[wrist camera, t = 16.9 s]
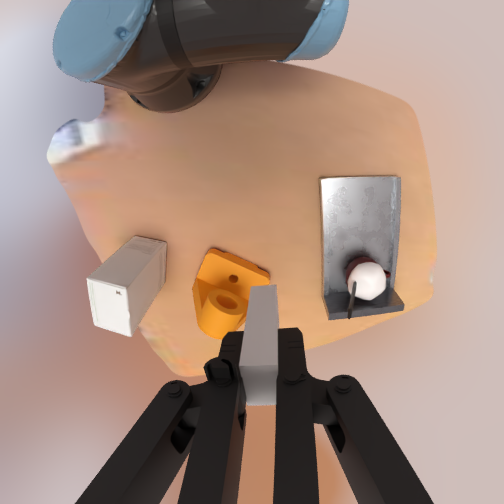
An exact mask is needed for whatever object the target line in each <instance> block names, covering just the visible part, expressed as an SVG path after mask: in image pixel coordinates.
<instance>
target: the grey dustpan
mask: <svg viewBox="0 0 504 504" xmlns="http://www.w3.org/2000/svg"><path fill="white" fill-rule="evenodd" d="M319 188H320V207H321V235H322V299H323V302H324V306H325V309H326V313H327V316H328V320H336V319H345V318H347V316H348V308H349V303H350V298H351V294H350V292H349V290H348V287H347V284H346V270H347V268H348V266H349V264H350V263H351V262H352V261H353V260H354V259H357V258H360V257H368V258H371V259H373V260H374V261H376V262H377V263H378V264H380V265H381V267H382V269H383V270H387V271H389V272H390V273H391V276H390V277H389V278H386V288H385V290H384V291H383V292H382V293H381V294H380V295H378V296H377V297H375V298H374V299H372V300H364V299H361V298H359V297H356V296H355V300H354V305H353V311H352V316H351V318H354V317H362V316H369V315H377V314H384V313H391V312H397V311H403V309H404V303H403V301H402V300H401V299H400V297H399V296H398V294H397V293H396V292H395V290H394V282H395V274H396V265H397V256H398V244H399V230H400V209H401V177H397V176H351V177H325V178H319Z"/></svg>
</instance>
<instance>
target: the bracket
mask: <svg viewBox="0 0 504 504" xmlns="http://www.w3.org/2000/svg"><path fill="white" fill-rule="evenodd" d="M232 274H234V275H236V276H234V275H232ZM269 283H270V276H269V274H268V273H267V272H265V271H263V270H261V269H259V268H257V265H255V264H252V263H250V262H248V261H246V260H243V259H241V258H239V257H237V256H235V255H232V254H230V253H228V252H225V253H223V252H221V251H219V250H216V249H210V250H209V251H208V252H207V254H206V256H205V258H204V261H203V263H202V265H201V268H200V270H199V273H198V275H197V278H196V280H195V283H194V285H193V288H192V290H193V297H194V304H195V310H196V317H197V323H198V326H199V328H200V329H201V330H202V331H203V332H204V333H205V334H206V335H208V336H210V337H212V338H215V339H223V337H224V336H225V335H226V334H227V333H228V332H232V331H236V330H237V329H238V328H239V327H240V326H241V325H242V324H243V323H244V322H245V321H246V316H247V309H248V302H249V296H250V289H251V286H264V285H269Z"/></svg>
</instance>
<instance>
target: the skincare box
mask: <svg viewBox="0 0 504 504" xmlns="http://www.w3.org/2000/svg"><path fill="white" fill-rule="evenodd" d="M166 251H167V242H163V241H158V240H153V239H149V238H143V237H138V236H134V237H133V238H131V239H130V240H129V241H128V242H127V243H126V244H124V245H123V246H122V247H121V248H120V249H119V250H117V251H116V252H115V253H114V254H113V255H112V256H111V257H109V258H108V259H107V260H106V261H105V262H104V263H103V264H102V265H101V266H99V268H97V269H96V270H95V271H94V272H93V273H92V274H91V275H90V276H89V277H87V285H88V292H89V298H90V304H91V310H92V316H93V321H94V325H95V326H98V327H101V328H104V329H107V330H110V331H114V332H117V333H120V334H123V335H126V336H129V337H132V335H133V333H134V332H135V330H136V328H137V327H138V325H139V323H140V322H141V320H142V318H143V317H144V315H145V313H146V312H147V310H148V309H149V307H150V305H151V304H152V302H153V301H154V299H155V297H156V296H157V294H158V292H159V291H160V289H161V288H162V286H163V285H164V283H165V273H166Z"/></svg>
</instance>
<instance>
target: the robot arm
mask: <svg viewBox="0 0 504 504" xmlns="http://www.w3.org/2000/svg"><path fill="white" fill-rule="evenodd" d="M348 6H349V0H71V2H70V4H69V5H68V7H67V8H66V9H65V11H64V12H63V14H62V16H61V18H60V20H59V22H58V25H57V28H56V31H55V34H54V39H53V55H54V59H55V62H56V64H57V66H58V67H59V68H60V69H61V70H62V71H63V72H64V73H65V74H67V75H70V76H72V77H75V78H77V79H79V80H80V81H84V82H94V83H98V84H102V85H106V86H110V87H114V88H118V89H121V90H125V91H127V93H128V94H129V95H130V97H131V98H132V99H133V100H134V101H135V102H136V103H137V104H138V105H140V106H141V107H143V108H145V109H148V110H151V111H155V112H160V113H173V112H179V111H182V110H185V109H188V108H190V107H192V106H194V105H195V104H197V103H198V102H200V101H201V100H202V99H204V98H205V97H206V96H207V95H208V94H209V93H210V91H211V90H212V89H213V87H214V86H215V84H216V82H217V80H218V78H219V76H220V72H221V68H222V64H226V63H235V62H247V61H264V60H276V61H277V62H286V61H290V60H314V59H318V58H320V57H322V56H324V55H326V54H328V53H329V52H330V51H331V50H332V49H333V47H334V46H335V45H336V43H337V41H338V39H339V38H340V35H341V32H342V30H343V28H344V24H345V21H346V17H347V12H348ZM204 370H205V373H206V377H207V380H208V381H206V382H204V383H201V384H197V385H192V386H189V385H188V384H187V383H186V382H183V381H180V380H175V381H170V382H168V383H166V384H165V385H164V386H163V387H162V388H161V390H160V391H159V392H158V394H157V395H156V396H155V398H154V399H153V400H152V402H151V403H150V404H149V406H148V407H147V408H146V410H145V411H144V413H143V414H142V415H141V416H140V418H139V419H138V420H137V422H136V423H135V425H134V426H133V427H132V429H131V430H130V431H129V433H128V434H127V435H126V437H125V438H124V439H123V441H122V442H121V443H120V445H119V446H118V447H117V449H116V450H115V451H114V453H113V454H112V455H111V457H110V458H109V459H108V461H107V462H106V463H105V465H104V466H103V467H102V469H101V470H100V471H99V473H98V474H97V475H96V477H95V478H94V479H93V480H92V482H91V483H90V485H89V486H88V487H87V489H86V490H85V491H84V492H83V494H82V495H81V496H80V498H79V499H78V500H77V502H76V503H75V504H159V503H160V502H161V500H162V498H163V497H164V495H165V493H166V491H167V490H168V488H169V486H170V485H171V483H172V482H173V480H174V478H175V476H176V474H177V473H178V471H179V470H180V468H181V466H182V464H183V462H184V461H185V459H186V457H187V456H188V454H189V452H190V454H189V458H188V462H187V466H186V470H185V474H184V479H183V483H182V487H181V491H180V495H179V499H178V504H237V498H238V490H239V481H240V472H241V461H242V454H243V444H244V435H245V426H246V409H245V406H246V402H247V405H276V434H275V469H274V493H273V504H319V489H318V472H317V459H316V445H315V433H314V423H317V424H323V426H324V428H325V431H326V433H327V435H328V438H329V440H330V442H331V444H332V446H333V448H334V451H335V453H336V455H337V457H338V460H339V462H340V464H341V466H342V469H343V471H344V473H345V475H346V477H347V480H348V482H349V484H350V486H351V488H352V491H353V493H354V495H355V497H356V500H357V502H358V504H434V503H433V502H432V500H431V498H430V496H429V495H428V493H427V491H426V490H425V488H424V486H423V485H422V483H421V481H420V480H419V478H418V476H417V475H416V473H415V471H414V470H413V468H412V466H411V465H410V463H409V461H408V460H407V458H406V457H405V455H404V454H403V452H402V450H401V448H400V447H399V445H398V444H397V442H396V440H395V439H394V437H393V435H392V434H391V432H390V431H389V429H388V427H387V426H386V424H385V423H384V421H383V419H382V418H381V416H380V415H379V413H378V412H377V410H376V408H375V407H374V405H373V404H372V402H371V401H370V399H369V397H368V396H367V394H366V393H365V391H364V390H363V388H362V387H361V385H360V383H359V382H358V381H357V380H356V379H355V378H354V377H352V376H349V375H338V376H335V377H333V378H332V379H331V380H330V381H324V380H319V379H316V378H314V377H312V376H311V375H310V374H309V373H308V371H307V367H306V359H305V351H304V343H303V335H302V332H301V331H300V330H299V329H298V328H283V329H279V313H278V300H277V287H276V285H264V286H251V289H250V296H249V302H248V309H247V316H246V322H245V329H244V331H232V332H228V333H227V334H226V335H225V336H224V337H223V340H222V344H221V348H220V352H219V356H218V357H216V358H213V359H211V360H209V361H208V362H207V363H206V364H205V366H204Z"/></svg>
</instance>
